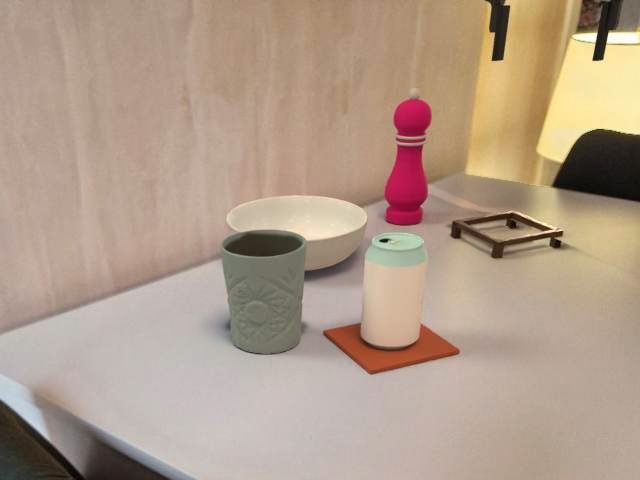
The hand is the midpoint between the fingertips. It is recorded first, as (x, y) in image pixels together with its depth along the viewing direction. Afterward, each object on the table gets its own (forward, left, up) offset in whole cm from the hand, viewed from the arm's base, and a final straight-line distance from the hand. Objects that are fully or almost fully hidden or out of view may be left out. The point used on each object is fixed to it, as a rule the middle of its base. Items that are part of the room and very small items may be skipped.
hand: (545, 61), depth 104 cm
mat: (-22, +35, -25) cm, 49 cm away
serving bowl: (+9, +33, -25) cm, 43 cm away
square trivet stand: (+2, 0, -25) cm, 25 cm away
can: (-22, +35, -25) cm, 49 cm away
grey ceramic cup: (-14, +48, -25) cm, 56 cm away
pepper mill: (+19, +8, -25) cm, 33 cm away
